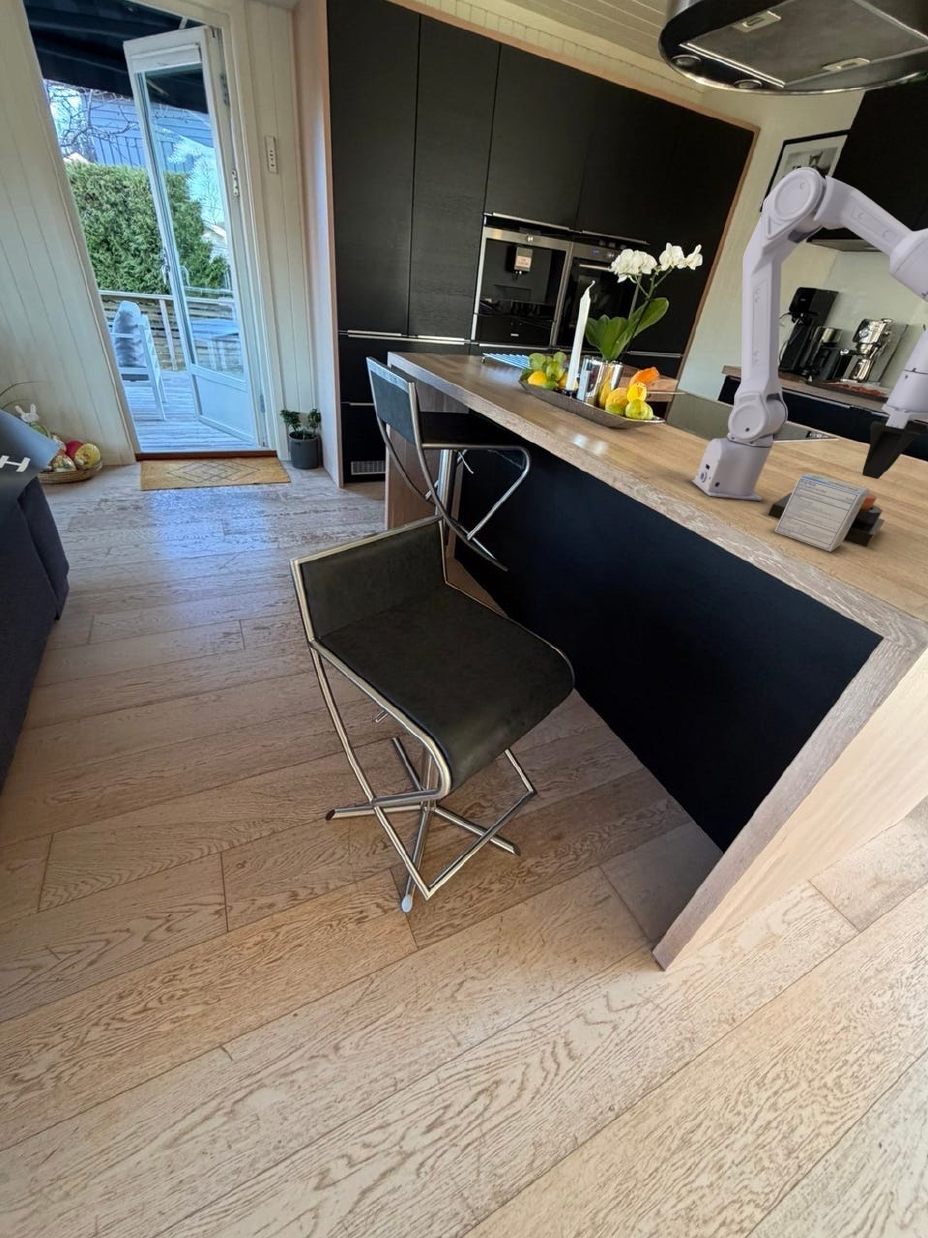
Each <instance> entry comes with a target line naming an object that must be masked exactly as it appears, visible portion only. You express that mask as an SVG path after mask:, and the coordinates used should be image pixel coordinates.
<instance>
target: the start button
mask: <svg viewBox="0 0 928 1238" xmlns="http://www.w3.org/2000/svg"><path fill="white" fill-rule="evenodd" d="M876 501H877V496H876V495H875V494H872V493H870V492H869V493H868V495H867V496H866V498H865V500H864V502H863V504H862V506H861V508H860V509H865V510H870V509H871V508H872V506H873V505H875V502H876Z"/></svg>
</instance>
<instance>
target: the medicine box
mask: <svg viewBox="0 0 928 1238" xmlns="http://www.w3.org/2000/svg"><path fill="white" fill-rule="evenodd" d="M791 493H792V495H791V497H790V499H789V501H788V503H787V506H786V508H785V510H784V512H783V514H782V517H781V519H779V521H778V522H777V525H776V527H775V530H774V532H775V533H777V534H780V535H783V536H785V537H788V538H791V539H794V540H796V541H800V542H801V543H805V544H808V545H809V546H813V547H815V548H819V549H822V550H824V551H827V552H830V553H831V552H832V551H834V550H836V549H837V548H839V547H840V546H841V545H842V544H843V542H844V538H845V536H846V534H847V532H848V530H849V528H850V526H851V525H852V523H853V521H854V519H855V517H856V515H857V513H858V511H859V510H860V508H861V506H862V504H863V502H864V500H865V498H866V496H867V495H868V493H869V494H870V489H869V488H868V487H865V486H861V485H859V484H854V483H851V482H847V481H845V480H841V479H838V478H833V477H830V476H826V475H822V474H819V473H815V472H809V473H808V472H807V473H805V474H803V475H801V476H798V479H797V481H796V483H795V486H794V488H793V490H792V492H791Z"/></svg>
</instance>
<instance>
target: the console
mask: <svg viewBox="0 0 928 1238" xmlns="http://www.w3.org/2000/svg"><path fill="white" fill-rule="evenodd" d="M791 495H792V492H790V493H787V495H784V496H783V497H781V498H780V499H778V500H777V501H775V502H773V503H772V505H771V507H770V509H769V512H768V513H767V516H768V517H772V518H776V519H778V520H780V519H781V517H782V514H783V512H784V510H785V508H786V506H787V503H788V501H789V499H790V497H791ZM883 511H884V510H883V509H882V508H881V507H879V506H878V505H875V504H873V506H872V508H871V509H870V510H865V509H860V510H859V511H858V513H857V515H856V517H855V519H854V521H853V523H852V525H851V526H850V528H849V530H848V532H847V534H846V536H845V538H844V540H845V541H847V542H849V543H852V544H856V545H859V546H862V547H865V548H867V547H868V546H869V544H870V543H871V542H872V540H873V539H874V538H875V536H876V535H877V534H878V533H879V531H880V529H881V528H882V526H883V524H884V523H885V519H882V518H880V517H881V515H882V513H883ZM844 540H843V541H844Z"/></svg>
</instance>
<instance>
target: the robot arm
mask: <svg viewBox="0 0 928 1238" xmlns="http://www.w3.org/2000/svg"><path fill="white" fill-rule="evenodd" d="M822 228H825V229H827V230H836V229H842V228H845V229H848V230H850V231H851V232H853V233H854V234H855V235H856V236H858V237H860V238H861V239H862V240H864V241H866V242H867V243H868V244H870V245H872V246H873V247H874V248H876V249H878V250H879V251H881V252H882V253H884V254H885V255H887V256H888V257H889V266H888V275H889V276H891V277H892V278H894V280H896V281H898V282H899V283H900V284H902V285H903V286H904V287H906V289H908V290H909V291H911V292H912V293H914V294H915V295H916V296H918V297H919V298H921V299H922V300H923V301H925V302H926V303H928V227H927V228H924V229H920V230H915V231H913V230H911V229H910V228H908V226H906V225H905V224H903V223H902V222H901V221H899V220H898V219H897V218H895V217H894V216H893V215H891V214H890V213H889V212H888V211H887V210H885V209H884V208H883V207H881V206H880V205H878V204H877V203H876V202H875V201H873V200H872V199H871V198H869V197H868V196H867V195H865V194H864V193H863V192H862V191H860V190H859V189H857V188H856V187H853V186H851V185H849V184H847V183H845V182H843V181H840V180H838V179H836V178H833V177H832V176H829V175H825V178H824V177H823V176H822V175H821V174H820V172H819V171H818V170H817V169H815V168H813V167H809V166H803V167H799V168H796V169H793V170H792V171H790V172H788V173H787V174H786V175H785V176H784V177H782V179H780V181H779V182H778V183H777V184H776V185H775V187H774V188H773V189H772V190H771V192H770V193H769V194H768V195H767V196H766V198H765V199H764V200H763V202H762V209H761V215H760V217H759V219H758V222H757V223H756V226H755V229H754V230H753V233H752V235H751V237H750V240H749V241H748V244H747V246H746V248H745V251H744V253H743V257H742V278H741V279H742V286H741V287H742V288H741V289H742V291H741V293H742V294H741V365H740V366H741V372H740V374H741V375H740V377H741V378H740V379H741V380H740V384H739V386H738V388H737V390H736V392H735V393H734V397H733V398H734V400H733V401H734V403H733V408H732V410H731V412H730V414H729V417H728V420H727V426H728V427H727V428H728V433H727V435H726V436H725V437H722V438H720V437H719V438H716V437H715V438H713V439H711V440H710V441H709V442H708V444H707V445H706V448H705V449H704V453H703V454H702V458H701V460H700V464H699V466H698V469H697V472H696V475H695V478H693V479H692V483H693V484H694V485H696V486H697V487H698V488H699V489H701V490H702V491H703V492H704V493H705V494H707V495H708V496H709V497H714V498H727V499H737V500H748V501H758V502H761V501H762V500H763V498H762V497H761V496H759V494H757V493H756V492H754V490H755V488H756V485H757V484H758V481H759V479H760V477H761V474H762V471H763V469H764V467H765V465H766V462H767V459H768V457H769V455H770V453H771V450H772V448H773V445H774V443H775V442H774V439H773V438H774V435H775V434H776V433H778V432H780V430H782V429H783V428H784V426H785V425H786V422H787V421H788V413H789V411H788V407H787V405H786V402H784V399H783V388H782V383H781V380H780V378H779V355H780V353H779V352H780V323H781V322H780V317H781V291H782V290H781V289H782V264H783V263H784V261H786V259H787V258H788V257H789V256H790V255H791V254H792V253H793V252H794V251H795V249H796V248H797V247H798V246H799V245H801V244H802V243H803V242H804V241H807V239H809V238H810V237H811V236H813V235H815V234H816V233H818V232H819V231H820V230H821V229H822ZM881 411H883V412H885V413H886V414H888V415H889V417H888V418H887V417H883V418H881V420H880V421H876V420H875V421H872V422H871V424H870V441H869V448H868V451H867V454H866V458H865V462H864V465H863V469H862V474H861V475H862V476H864V477H868V478H871V479H876V480H879V478H881V477H882V476H883V475H884V474H885V472H888V471H889V470H890V469H891V467H892V466H893V465H894V464H895V462H897V460H898V459H899V458H900V456H901V455H902V453H903V452H904V451H905V450H906V448H907V447H909V445H910V444H911V443H912V441H914V440H915V439H916V438H918V437H919V436H920V435H921V434H922V433H923V432H924V431H926V430H927V429H928V424H927V423H924V422H919V421H916V420H928V326H926V328H925V330H924V331H923V332H922V333H921V335H920V337H919V338H918V341H917V343H916V345H915V346H914V348H913V350H912V352H911V354H910V356H909V358H908V360H907V362H906V364H905V366H904V368H903V370H902V371H901V374H900V376H899V378H898V380H897V381H896V383H895V386H894V387H893V389H892V391H891V393H890V395H889V397H888V399H887V401H886V402H885V403H884V404H883V405H882V407H881Z"/></svg>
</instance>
